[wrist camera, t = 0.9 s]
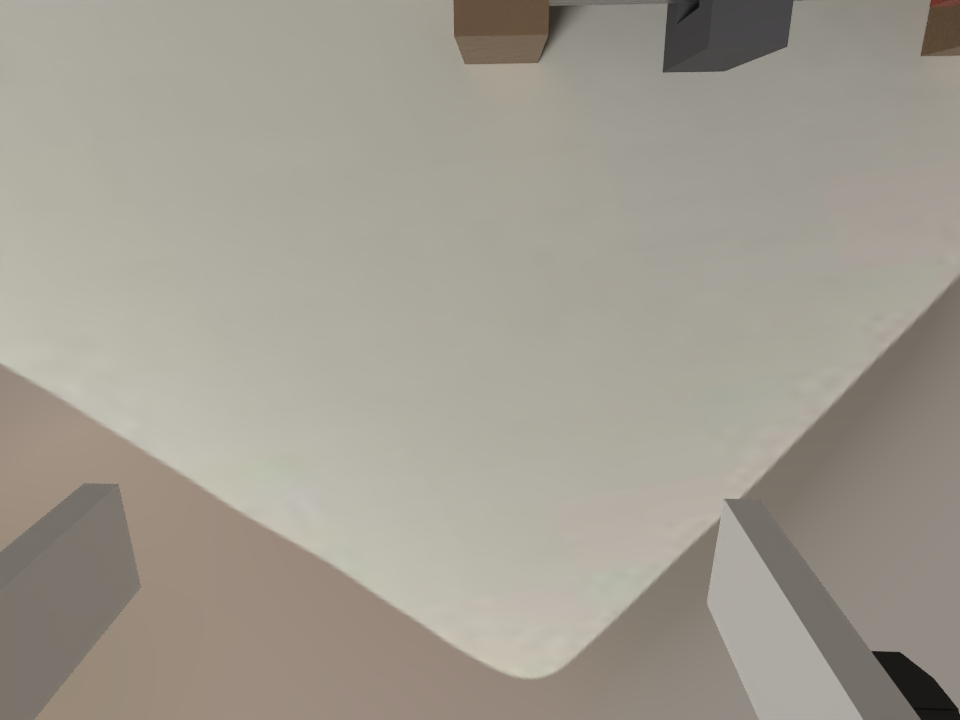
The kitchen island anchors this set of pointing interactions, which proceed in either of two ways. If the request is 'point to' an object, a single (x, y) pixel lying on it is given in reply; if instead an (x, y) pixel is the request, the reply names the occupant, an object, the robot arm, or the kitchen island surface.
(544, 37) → the sliding collar rod
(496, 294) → the kitchen island surface
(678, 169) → the kitchen island surface
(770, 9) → the grey rectangular sleeve
